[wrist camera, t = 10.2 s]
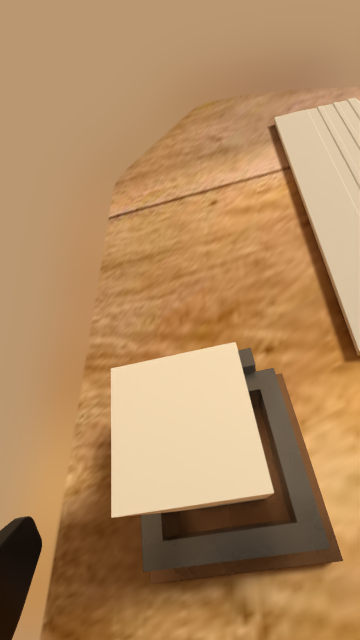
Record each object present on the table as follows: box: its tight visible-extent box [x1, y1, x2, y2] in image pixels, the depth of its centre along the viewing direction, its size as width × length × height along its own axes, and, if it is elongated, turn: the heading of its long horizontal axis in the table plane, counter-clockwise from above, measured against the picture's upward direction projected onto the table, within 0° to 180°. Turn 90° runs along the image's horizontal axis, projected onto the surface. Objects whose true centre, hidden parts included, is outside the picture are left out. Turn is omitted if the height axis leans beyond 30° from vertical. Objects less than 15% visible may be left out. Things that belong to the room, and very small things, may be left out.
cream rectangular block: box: [111, 342, 274, 518], centre depth 13 cm, size 4×4×12 cm
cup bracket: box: [141, 348, 343, 584], centre depth 17 cm, size 10×10×6 cm
